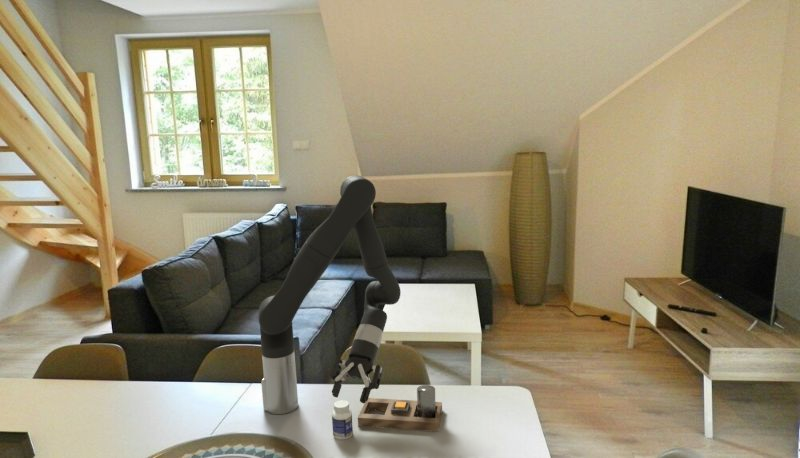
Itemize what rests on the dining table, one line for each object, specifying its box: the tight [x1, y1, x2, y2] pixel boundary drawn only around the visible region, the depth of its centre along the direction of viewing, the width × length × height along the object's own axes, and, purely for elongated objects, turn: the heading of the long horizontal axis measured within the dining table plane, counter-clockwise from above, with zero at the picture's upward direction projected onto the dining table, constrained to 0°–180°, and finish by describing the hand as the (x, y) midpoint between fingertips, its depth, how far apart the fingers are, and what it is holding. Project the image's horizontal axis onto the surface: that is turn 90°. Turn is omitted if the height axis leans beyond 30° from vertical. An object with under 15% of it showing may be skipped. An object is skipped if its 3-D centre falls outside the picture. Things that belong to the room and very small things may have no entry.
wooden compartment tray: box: [357, 397, 443, 432], centre depth 150 cm, size 22×11×4 cm, turn 80°
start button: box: [395, 402, 406, 409], centre depth 150 cm, size 3×3×1 cm
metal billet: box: [416, 384, 436, 418], centre depth 148 cm, size 5×5×9 cm
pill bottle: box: [331, 399, 354, 441], centre depth 142 cm, size 5×5×9 cm
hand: (348, 399), depth 145 cm, fingers open, 8 cm apart
